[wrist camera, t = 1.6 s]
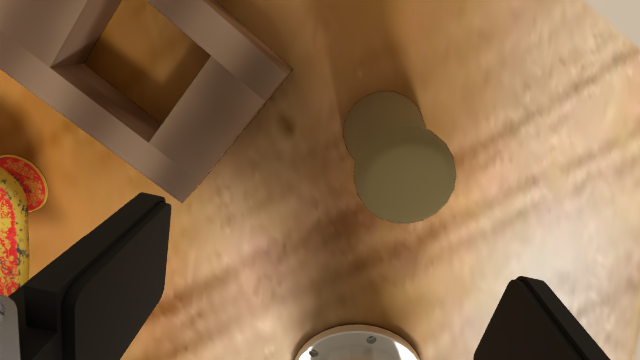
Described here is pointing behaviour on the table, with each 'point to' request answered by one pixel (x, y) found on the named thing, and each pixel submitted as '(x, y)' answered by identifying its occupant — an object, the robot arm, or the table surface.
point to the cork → (397, 159)
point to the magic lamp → (17, 218)
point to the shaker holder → (120, 112)
